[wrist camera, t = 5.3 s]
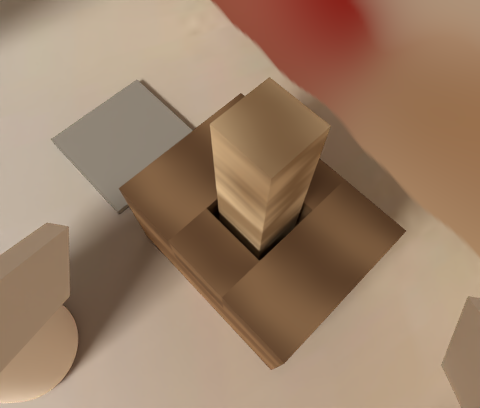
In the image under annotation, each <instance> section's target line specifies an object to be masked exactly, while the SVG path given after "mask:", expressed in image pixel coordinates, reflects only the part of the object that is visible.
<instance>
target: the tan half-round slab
mask: <svg viewBox="0 0 480 408" xmlns="http://www.w3.org/2000/svg"><path fill="white" fill-rule="evenodd" d="M77 347H78V331H77V326H76V323H75V320H74V318H73V316H72V315H71V313H70V312H69V311H68V309H67V308H66V307H65V306H63V305H61V306H60V308H59V309H58V310H57V311H56V312H55V313H54V314H53V315H52V316H51V318H50V319H49V320H48V321H47V322H46V323H45V324H44V325H43V326H42V327H41V329H40V330H39V331H38V332H37V333H36V334H35V335H34V336H33V337H32V338H31V340H30V341H29V342H28V343H27V344H26V345H25V346H24V347H23V348H22V349H21V351H20V352H19V353H18V354H17V355H16V356H15V357H14V358H13V359H12V360H11V362H10V363H9V364H8V365H7V366H6V367H5V368H4V369H3V370H2V371H1V373H0V403H13V402H24V401H29V400H33V399H36V398H38V397H40V396H42V395H44V394H46V393H47V392H49V391H50V390H52V389H53V388H54V387H55V386H56V385H57V384H59V382H60V381H61V380H62V379H63V378H64V377H65V375H66V374H67V373H68V371H69V369H70V368H71V366H72V364H73V361H74V359H75V356H76V352H77Z"/></svg>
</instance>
